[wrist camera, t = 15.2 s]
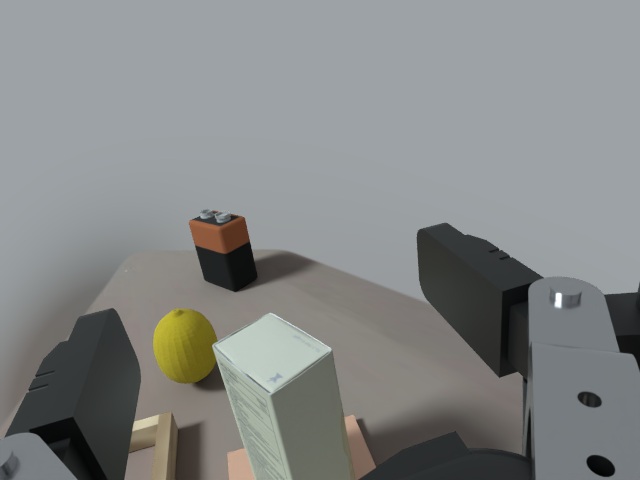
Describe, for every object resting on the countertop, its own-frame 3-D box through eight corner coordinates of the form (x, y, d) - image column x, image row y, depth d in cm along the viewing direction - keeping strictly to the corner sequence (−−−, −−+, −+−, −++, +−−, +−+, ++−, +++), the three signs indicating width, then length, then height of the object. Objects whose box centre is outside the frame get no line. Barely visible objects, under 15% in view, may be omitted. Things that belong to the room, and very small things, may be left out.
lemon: (193, 356, 45) (172, 290, 41) (237, 366, 42) (219, 297, 39) (155, 395, 40) (128, 324, 37) (202, 408, 38) (177, 333, 35)
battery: (235, 293, 56) (217, 222, 51) (203, 281, 60) (184, 214, 56) (259, 278, 58) (244, 209, 54) (227, 267, 63) (211, 203, 59)
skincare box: (361, 502, 28) (340, 350, 23) (308, 555, 25) (271, 397, 20) (300, 445, 32) (272, 308, 27) (250, 485, 30) (209, 343, 25)
